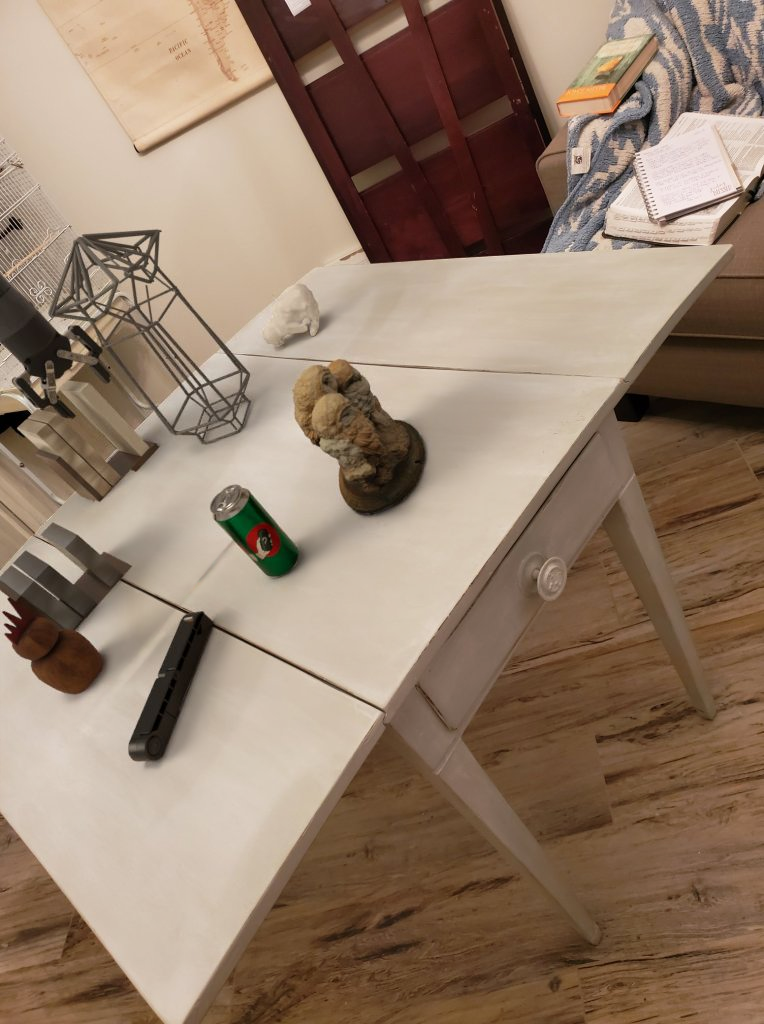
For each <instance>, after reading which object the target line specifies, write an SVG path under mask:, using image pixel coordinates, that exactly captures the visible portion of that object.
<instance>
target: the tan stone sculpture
mask: <svg viewBox="0 0 764 1024" xmlns="http://www.w3.org/2000/svg"><path fill="white" fill-rule="evenodd" d="M292 392H293V393H292V394H293V398H292V399H293V404H294V414H293V415H294V420H295V421H296V423H297V425H298V427H299V428H300V430H301V431H302V433H303V435H304V436H305V437H306V438H307V439H308V440H310V443H311V444H312V445H313V446H316V447H318V448H320V450H322V452H323V453H325V454H327V455H329V456H330V457H331V458H333V459H336V460H337V463H338V465H339V470H338V486H339V487H338V488H339V491H340V494H341V496H342V499H343V500H344V502H345V504H346V505H347V506H348V507H349V508H350V509H351V510H352V511H354V512H356V513H358V514H360V515H365V514H368V515H373V514H374V515H375V513H379V512H381V511H384V510H386V509H387V508H389V507H392V506H396V505H397V504H399V503H401V502H403V501H404V500H405V499H406V498H407V497H408V496H409V495H410V494H411V493H412V492H413V491H414V489H415V488H416V487H417V485H418V483H419V481H420V478H421V474H422V473H423V470H424V467H423V465H424V463H425V461H426V449H425V444H424V440H423V438H422V436H421V435H420V433H419V431H418V430H417V429H416V428H415V427H414V425H412V424H411V423H409V422H407V421H405V420H400V419H394V418H393V417H391V415H390V414H389V413H388V412H387V411H386V410H385V409H384V408H383V407H382V405H381V402H380V400H379V398H378V397H377V395H376V394H373V392H372V391H371V384H370V383H369V380H368V379H367V377H365V376H364V375H363V374H362V373H361V372H360V371H359V370H358V369H357V368H356V367H354V366H353V365H351V363H349V361H348V360H347V359H343V358H338V359H336V360H333V361H331V362H330V363H329V364H328V365H327V366H325V365H323V364H312V365H310V366H309V367H308V368H307V369H305V370H304V371H303V372H302V373H301V374H300V376H299V377H298V379H297V380H296V382H295V383H294V385H293V389H292ZM418 461H420V462H418ZM415 462H416V463H415ZM418 480H419V481H418ZM417 482H418V483H417ZM416 484H417V485H416ZM414 487H415V488H414ZM413 488H414V489H413ZM412 490H413V491H412ZM411 491H412V492H411ZM410 492H411V493H410ZM409 493H410V494H409ZM408 494H409V495H408ZM406 496H407V497H406ZM405 497H406V498H405ZM404 498H405V499H404ZM403 499H404V500H403Z"/></svg>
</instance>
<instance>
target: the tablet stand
mask: <svg viewBox="0 0 764 1024" xmlns="http://www.w3.org/2000/svg"><path fill="white" fill-rule="evenodd" d="M213 626H214V620H212V618H210V617H209V616H208V615H207V614H206V612H205V611H203V610H201V611H193V612H188V613H186V614H184V615H183V616H182V617H181V619H180V621H179V623H178V626H177V627H176V631H175V632H174V635H173V638H172V640H171V641H170V645H169V648H168V649H167V652H166V653H165V657H164V659H163V661H162V663H161V666H160V668H159V669H158V673H157V678H155V680H154V681H153V684H152V686H151V689H150V691H149V693H148V696H147V699H146V701H145V703H144V706H143V708H142V711H141V713H140V715H139V717H138V720H137V722H136V725H135V727H134V729H133V732H132V734H131V737H130V739H129V741H128V745H127V752H128V755H129V758H130V759H131V760H132V761H133V762H138V763H141V762H156V761H158V760H160V759H161V758H162V757H163V756H164V755H165V752H166V749H167V746H168V743H169V741H170V739H171V735H172V734H173V731H174V728H175V725H176V723H177V720H178V718H179V715H180V713H181V707H182V704H183V703H184V700H185V697H186V694H187V692H188V689H189V686H190V685H191V681H192V679H193V676H194V673H195V672H196V669H197V666H198V663H199V661H200V659H201V656H202V654H203V651H204V648H205V646H206V643H207V641H208V638H209V636H210V633H211V630H212V628H213Z"/></svg>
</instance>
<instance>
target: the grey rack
mask: <svg viewBox="0 0 764 1024" xmlns="http://www.w3.org/2000/svg"><path fill="white" fill-rule="evenodd" d="M40 536H41V537H42V538H43V539H44V540H45V541H46V542H48V543H49V544H50V545H51V546H53V547H54V548H55V549H56V550H57V551H59V552H60V553H61V554H62V555H63V556H64V557H66V558H67V559H68V560H70V561H71V562H72V563H73V564H74V565H75V566H76V567H78V568H79V569H80V570H82V572H83V574H81V575H80V577H78V579H77V580H76V581H75V582H74V583H73V582H71V581H70V580H68V578H66V577H65V576H64V575H63V574H62V573H60V572H59V571H58V570H57V569H56V568H54V567H53V566H51V565H50V564H49V563H47V562H45V560H43V559H41V558H39V557H37V556H36V555H34V554H33V553H31V552H30V551H28V550H26V549H25V550H24V551H23V552H22V553H21V554H20V555H19V556H18V557H17V558H16V559H15V560H14V561H13V562H12V565H10V566H8V568H7V569H5V571H4V572H3V573H2V574H1V575H0V592H2V593H3V594H4V595H5V596H6V597H7V598H11V599H13V600H14V601H15V602H17V603H18V604H19V605H21V606H22V607H23V608H25V609H26V610H27V611H29V612H30V613H31V614H33V615H34V616H35V617H36V618H38V617H42V618H46V619H48V620H49V621H51V622H52V623H53V624H54V625H55V626H56V628H57V630H58V631H59V630H66V629H69V630H75V631H77V629H78V628H79V627H80V626H81V625H82V624H83V623H84V621H85V620H86V619H87V618H89V616H90V615H91V613H93V612H94V610H95V609H96V608H97V606H98V605H100V603H101V602H102V601H103V600H104V599H105V598H106V597H107V595H108V594H110V592H112V590H113V589H114V587H116V585H117V584H119V582H120V581H121V580H122V578H123V577H125V575H126V574H127V573H128V572H129V571H130V570H131V568H132V567H133V565H132V564H129V563H128V562H125V561H123V560H122V559H120V558H117V557H116V556H114V555H112V554H109V553H108V552H106V551H103V552H102V553H101V554H100V553H99V552H98V551H97V550H96V549H95V548H93V546H91V545H90V544H89V543H88V542H86V541H85V540H84V538H83V537H81V536H80V535H79V534H77V533H75V532H73V531H71V530H69V529H67V528H65V527H64V526H61V525H59V524H58V523H55V522H51V523H50V524H49V525H48V526H47V527H46V528H45V529H44V530H43V531H42V532H41V533H40ZM14 566H15V567H14ZM17 568H18V569H17Z"/></svg>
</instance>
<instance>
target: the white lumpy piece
mask: <svg viewBox="0 0 764 1024" xmlns="http://www.w3.org/2000/svg"><path fill="white" fill-rule="evenodd" d="M306 319H309V321H310V326H309V328H308V325H306V324H303V321H304V320H306ZM319 327H320V308H319V304H318V302H317V300H316V298H315V296H314V294H313V291H312V290H311V289H310V288H309V287H308V286H307V285H306V284H304V283H301V282H299V283H295V284H292V285H289V286H287V287H286V288H285V289H283V290H282V291H281V293H280V294H279V297H278V299H277V301H276V303H275V306H274V310H273V312H272V317H271V318H270V321H269V322H268V323H267V324H266V325H265V326H264V327H263V329H262V333H261V335H262V338H263V340H264V342H265V343H266V344H267V345H272V346H274V347H277V348H283V345H284V344H285V340H284V339H285V337H286V336H290V335H293V334H300V333H306V332H307V331H308V329H309V335H310V336H311V337H314V336H315V335H317V333H318V330H319Z"/></svg>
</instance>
